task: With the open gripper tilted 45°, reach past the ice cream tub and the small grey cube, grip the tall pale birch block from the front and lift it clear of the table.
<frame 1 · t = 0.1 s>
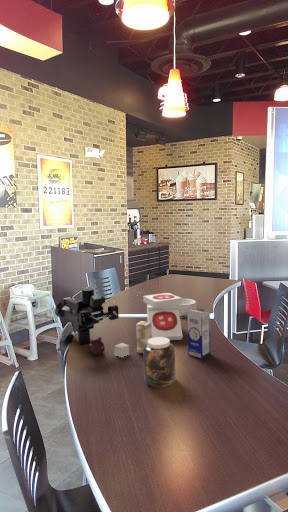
hand: (108, 319, 158), 17 cm above the table, tool horizontal, fingers open, 9 cm apart
birch block: (144, 351, 165), on the table
paper bowls: (183, 314, 223), on the table
jar: (160, 380, 136), on the table
milk carton: (199, 354, 159), on the table
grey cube: (122, 355, 162), on the table
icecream: (97, 354, 164), on the table
pizza boxes: (164, 334, 187), on the table
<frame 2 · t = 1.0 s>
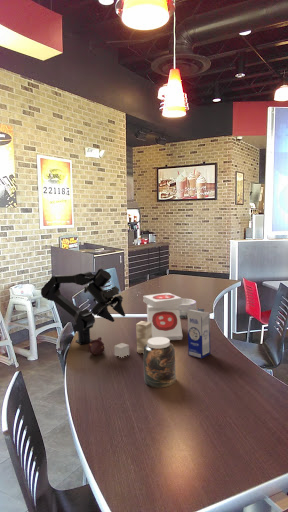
hand: (119, 318, 169), 14 cm above the table, tool tilted 45°, fingers open, 9 cm apart
nothing on the table moved.
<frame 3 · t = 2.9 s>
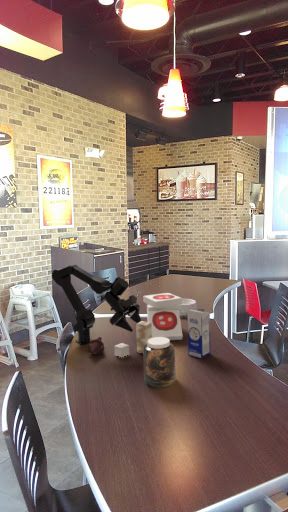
hand: (137, 328, 165), 10 cm above the table, tool tilted 45°, fingers open, 9 cm apart
nothing on the table moved.
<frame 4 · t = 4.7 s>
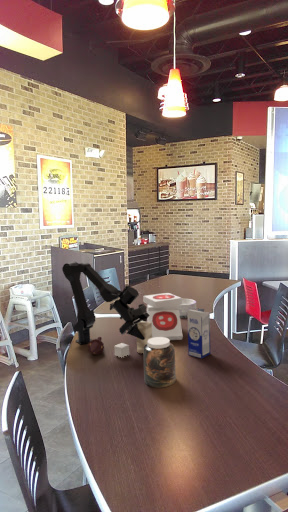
hand: (147, 337, 163), 7 cm above the table, tool tilted 45°, fingers closed on birch block, 5 cm apart
birch block: (144, 351, 165), on the table, touching gripper
everything else where it was.
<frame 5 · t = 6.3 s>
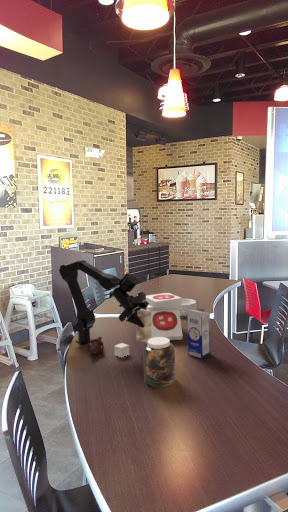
hand: (146, 325, 163), 12 cm above the table, tool tilted 45°, fingers closed on birch block, 5 cm apart
birch block: (144, 339, 164), point 5 cm above the table, touching gripper
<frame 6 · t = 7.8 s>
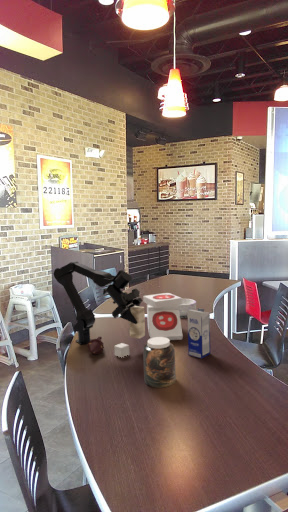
hand: (139, 321, 164), 13 cm above the table, tool tilted 45°, fingers closed on birch block, 5 cm apart
birch block: (137, 336, 166), point 7 cm above the table, touching gripper
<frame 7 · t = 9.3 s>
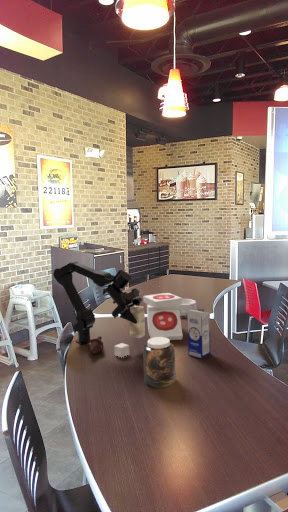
hand: (139, 321, 164), 13 cm above the table, tool tilted 45°, fingers closed on birch block, 5 cm apart
birch block: (137, 335, 166), point 7 cm above the table, touching gripper
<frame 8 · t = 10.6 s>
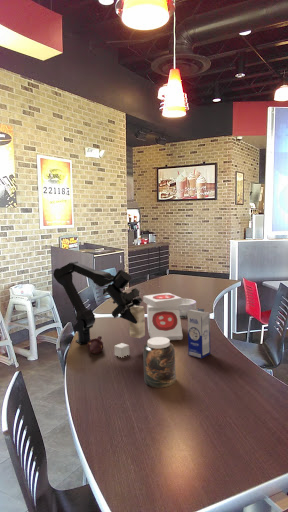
hand: (139, 321, 164), 13 cm above the table, tool tilted 45°, fingers closed on birch block, 5 cm apart
birch block: (137, 335, 166), point 7 cm above the table, touching gripper
at the end: the gripper is holding birch block; birch block point 6.8 cm above the table; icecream moved 1.8 cm from its start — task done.
